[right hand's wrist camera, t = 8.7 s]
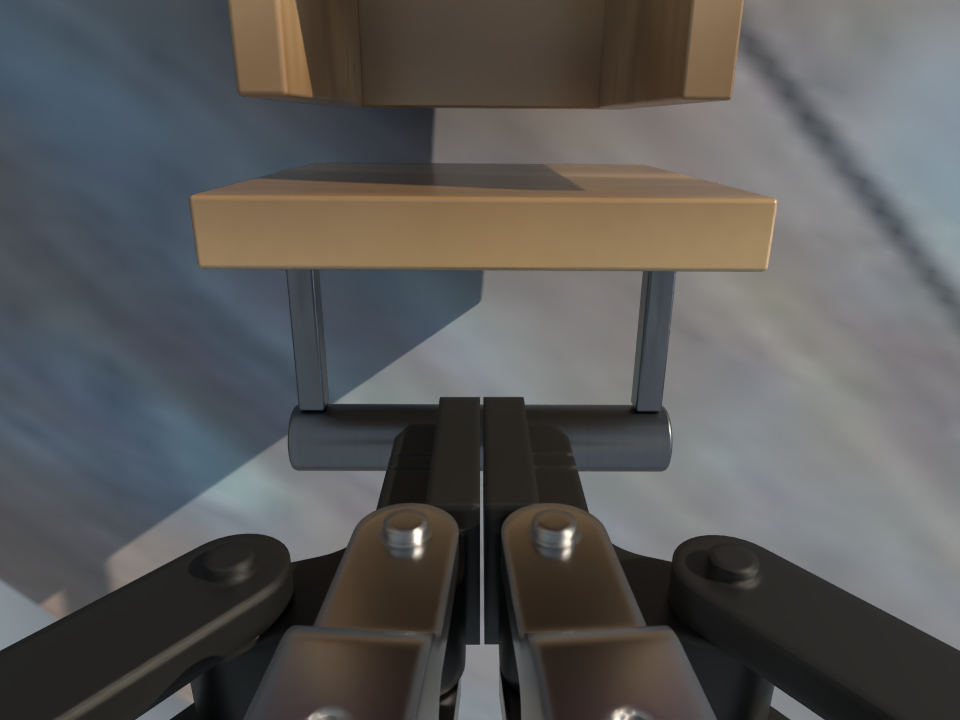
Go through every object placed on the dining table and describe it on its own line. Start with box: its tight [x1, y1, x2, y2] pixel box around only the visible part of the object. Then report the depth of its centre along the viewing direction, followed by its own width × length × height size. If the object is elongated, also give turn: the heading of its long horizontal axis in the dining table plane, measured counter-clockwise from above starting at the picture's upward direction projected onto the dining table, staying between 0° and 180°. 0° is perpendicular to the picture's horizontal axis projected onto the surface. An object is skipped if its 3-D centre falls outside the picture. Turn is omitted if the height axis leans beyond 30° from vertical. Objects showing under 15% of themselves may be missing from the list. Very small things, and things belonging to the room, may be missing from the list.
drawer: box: [189, 0, 777, 472], centre depth 14 cm, size 20×9×9 cm, turn 0°
